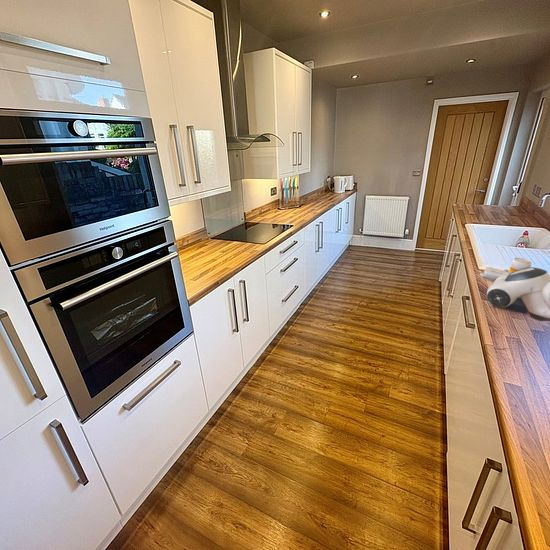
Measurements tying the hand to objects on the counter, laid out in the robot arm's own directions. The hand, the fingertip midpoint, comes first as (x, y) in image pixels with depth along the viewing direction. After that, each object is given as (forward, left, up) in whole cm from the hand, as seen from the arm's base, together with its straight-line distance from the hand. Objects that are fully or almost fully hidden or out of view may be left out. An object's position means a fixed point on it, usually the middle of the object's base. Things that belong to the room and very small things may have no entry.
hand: (517, 274), depth 119 cm
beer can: (0, +1, -9) cm, 9 cm away
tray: (0, +1, -13) cm, 13 cm away
